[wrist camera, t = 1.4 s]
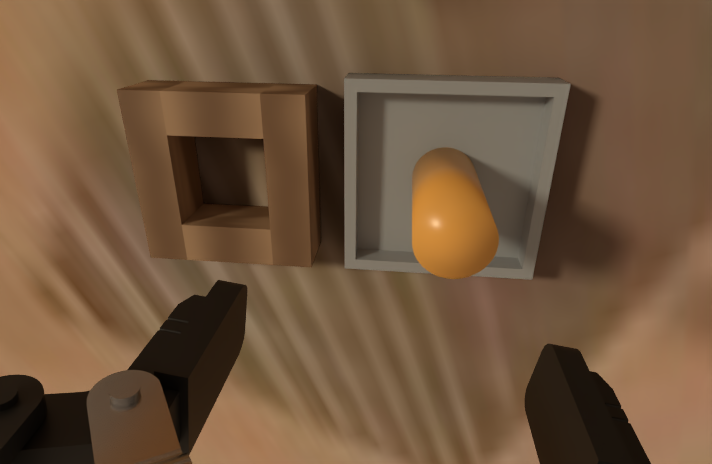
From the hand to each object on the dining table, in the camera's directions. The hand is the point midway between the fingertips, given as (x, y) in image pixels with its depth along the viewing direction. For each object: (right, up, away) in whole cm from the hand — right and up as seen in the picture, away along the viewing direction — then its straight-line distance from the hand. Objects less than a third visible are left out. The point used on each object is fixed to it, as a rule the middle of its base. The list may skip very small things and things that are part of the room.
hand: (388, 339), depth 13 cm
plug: (+5, +7, +21) cm, 23 cm away
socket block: (-10, +8, +23) cm, 26 cm away
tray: (+5, +7, +21) cm, 23 cm away
